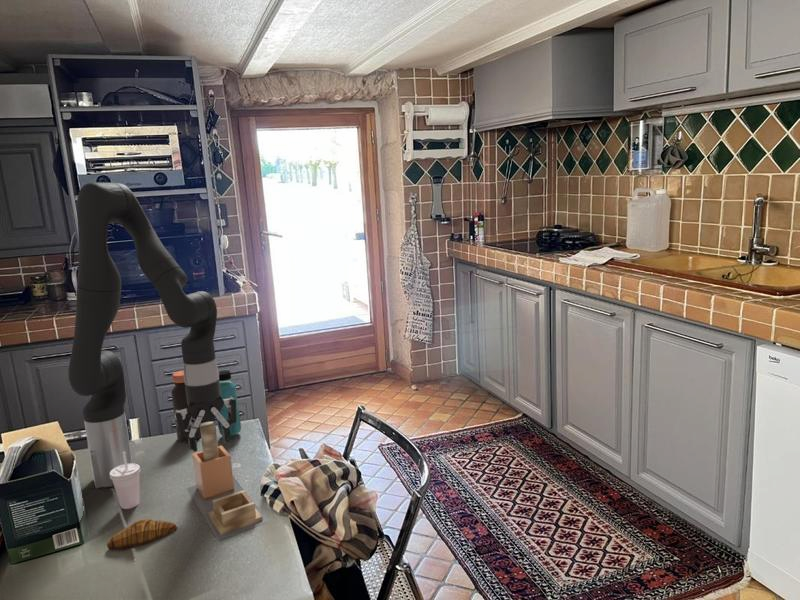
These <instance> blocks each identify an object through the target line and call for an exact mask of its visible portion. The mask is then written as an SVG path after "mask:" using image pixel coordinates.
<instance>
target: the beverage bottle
mask: <svg viewBox="0 0 800 600" xmlns="http://www.w3.org/2000/svg"><path fill="white" fill-rule="evenodd" d="M218 372H219V382H220V390H221V397H222V399H228V398H229V397H233V398H234V399H235V400H236V419H237V421H236V423H233V424H231V425H230V426H229V431H230V436H234V435H236V434H238V433H240V432H241V430H242V424H241V415H240V409H239V408H240V407H239V402H238V392H237V384H236V383H235V382H233V381H232V380H231V379H232V374H231V371H230V370H226V369H225V370H220V371H219V370H218ZM220 414H221V415H222V416H223V417H224V418H225V420H226V419H227V418H228V408H227V407H226V405H225V404H224V405H223V407H222V409H221V411H220ZM216 420H217V427H218V433H220V435H221V436H222V430H221V426H222V424H221V423H220V421H219V420H218V419H217V418H216Z"/></svg>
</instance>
